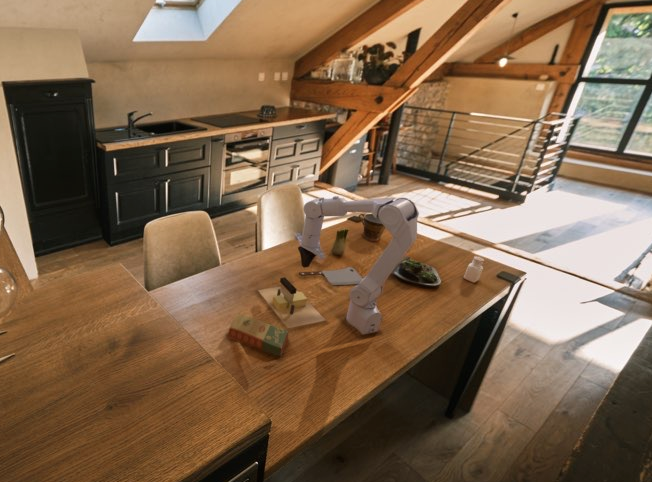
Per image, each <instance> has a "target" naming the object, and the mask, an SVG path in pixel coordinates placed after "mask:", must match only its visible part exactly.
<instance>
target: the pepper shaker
mask: <svg viewBox="0 0 652 482" xmlns="http://www.w3.org/2000/svg"><path fill="white" fill-rule="evenodd" d="M484 262H485V258H482V257H481V256H476V255H475V256H473V258H472V261H471V262H470V263H469V264H468V265H467V268H466V270H465V273H464V275H463V279H465V280H466V281H469V282H471V283H473V284H474V283H476V282H478V281H479V280H480V277H481V275H482V272H483V270H484V267H483V264H484Z"/></svg>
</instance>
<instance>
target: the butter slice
mask: <svg viewBox="0 0 652 482" xmlns="http://www.w3.org/2000/svg"><path fill="white" fill-rule="evenodd" d="M272 304H273V305H274V306H275V307H276V309H277V310H278V311H281V310H286V308H287V301H286V300H285V299H284V298H283V297H282V295H279V296H273V303H272Z"/></svg>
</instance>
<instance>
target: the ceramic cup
mask: <svg viewBox="0 0 652 482" xmlns="http://www.w3.org/2000/svg"><path fill="white" fill-rule="evenodd" d="M361 216H362V217H363V219H362V218H361ZM358 218H359V220H360V222H361V223H362V225H363V233H362V234H363V238H364V239H366V240H367V241H371V242H377V241H379V240H380V239H381V237H382V235H383V233H384V231H385V230H386V227H385V226H384V225H383V224H382V222H381V221H380V219H379V218H377V219H376V218H375V217H374V216H373V214H372V213H366V214H364V213H360V214H359V215H358Z"/></svg>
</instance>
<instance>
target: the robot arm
mask: <svg viewBox="0 0 652 482" xmlns="http://www.w3.org/2000/svg"><path fill="white" fill-rule="evenodd" d="M303 213H304V215H305V216H304V222H303V223H304V224H303V228H302V234H301V233H295V234H294V240H296V241H298V243H299V246H298V247H297V249H298V252H299V255H300V263H301V267H303V268H304V269H305V268H309V267H310V266H311V263H312V261H314V259H315V258H316V257H317V260H319V261H320V260H325V257H326V253H324V251H323V249H322V247H321V242H320V240H321V239H320V238H321V234H322V228H323V224H324V219H325V217H345V216H346V215H347V214H348V213H370V214H373V216H374V217H375V218H376V219H377V218H379V219H380V221H381V222H382V224H383V225H384V226H385V227H386V228H385V230H387V232H388V233H389V234H390V235H391V237H392V238H391V239H390V242H389V243H388V244H387V246H386V247H385V249H384V250H383V251H382V253H381V254H380V256H379V257H378V258H377V260H376V261H375V263H374V264H373V265H372V267H371V269H370V270H369V271H368V273H367V274H366V275H365V276H364V277H363V280H362V281H361V282H360V283H359V284H356V285H355V286H353V287H351V288H350V290H349V292H348V296H349V299H350V301H349V305H348V309H347V313H346V318H345V320H346V321H347V323H348V324H349V325H350V326H351V327H353V328H355V329H356V330H357V331H358V332H359V333H360V334H361V335H362V336H364V335H367V334H372V333H376V332H379V330H380V327H381V323H382V319H383V314H382V313H381V311H379V309H378V307H377V303H378V301H377V299H378V297H379V296H381V295H382V294H383V292H384V286H385V285H386V280H387V279H388V278H389V277H390V276H391V274H392V273H391V272H392V271H393V270H394V268H395V267H396V266H397V264H398V263H399V262H400V261H401V259H402V260H403V259H404V258H405V255H406V254H407V252H408V251H409V250H410V249H411V247H412V246H413V245H414V243H415V242H416V241H417V239H418V238H417V237H418V219H419V215H420V212H419V210H418V208H417V205H416V204H415V203H414V201H413V200H412V199H410V198H408V197H398V198H396V197H378V198H368V199H367V198H366V199H358V200H349V201H348V200H347V199H346V198H344V197H339V195H335V196H332V197H331V198H325V197H317V198H314V199H312V200H310V201H307V202H306V203H305V204H304V205H303Z"/></svg>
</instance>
